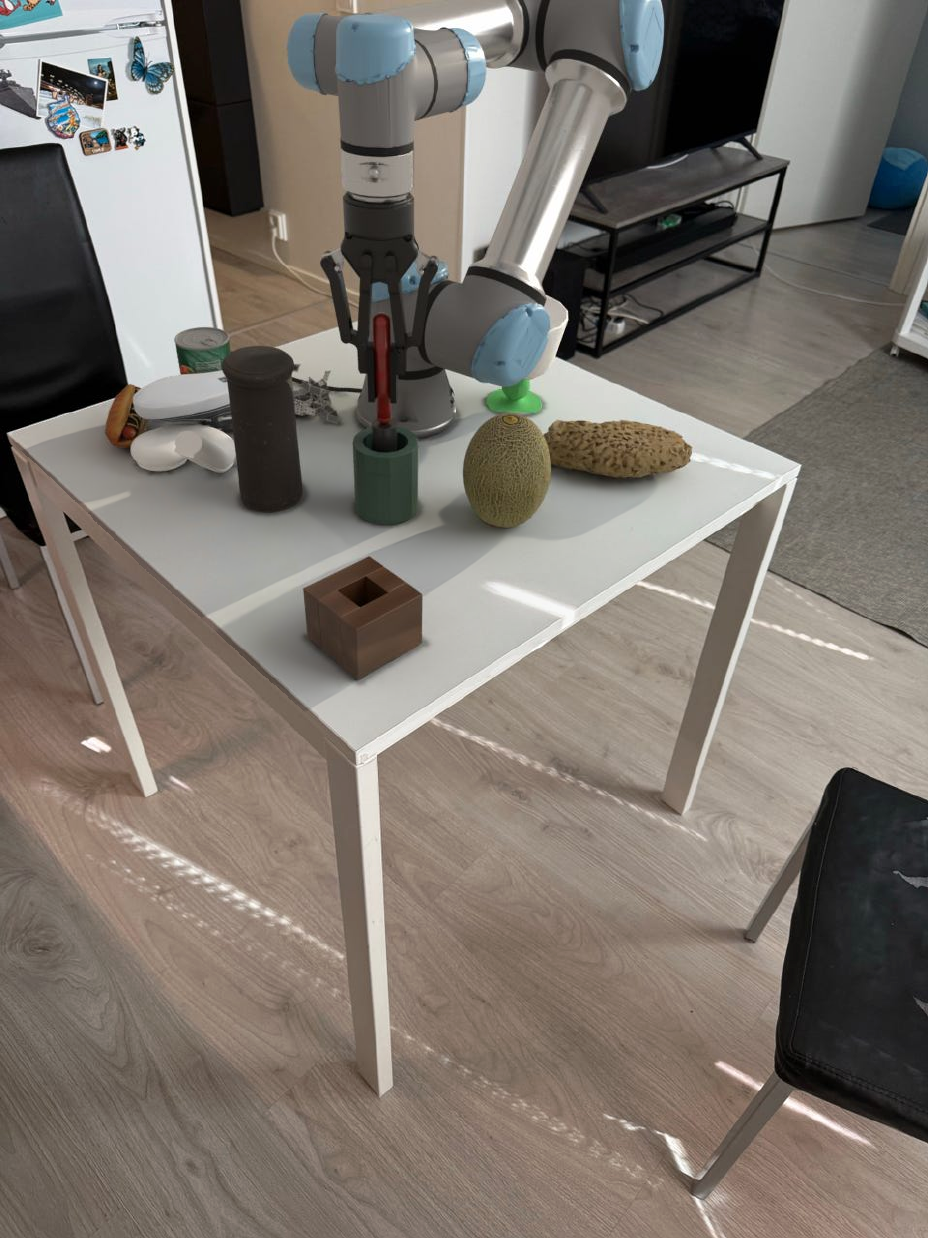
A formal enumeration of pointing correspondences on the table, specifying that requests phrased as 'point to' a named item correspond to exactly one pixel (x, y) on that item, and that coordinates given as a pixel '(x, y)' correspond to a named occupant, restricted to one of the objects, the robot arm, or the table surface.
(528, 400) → the cup
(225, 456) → the sculpture
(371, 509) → the green hollow cylinder
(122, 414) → the hot dog
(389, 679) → the table surface
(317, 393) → the house of cards
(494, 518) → the fruit
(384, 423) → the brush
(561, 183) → the robot arm
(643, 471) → the sponge
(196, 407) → the boat shoe
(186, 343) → the canned tomato
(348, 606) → the holder
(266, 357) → the container
